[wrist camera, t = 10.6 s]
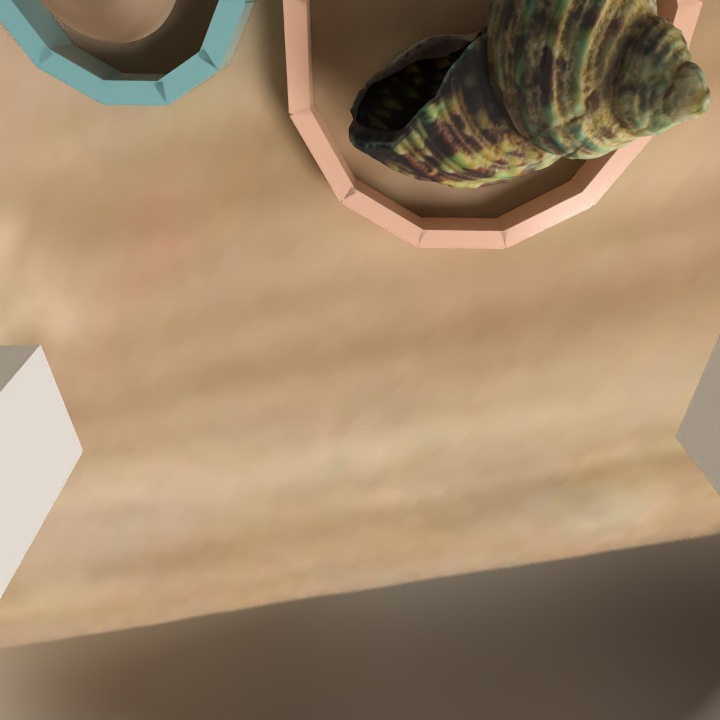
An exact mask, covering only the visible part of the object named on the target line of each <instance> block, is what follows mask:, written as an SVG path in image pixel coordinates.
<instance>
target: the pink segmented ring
mask: <svg viewBox="0 0 720 720" xmlns="http://www.w3.org/2000/svg"><path fill="white" fill-rule="evenodd" d="M656 3H657V16H659V17H662V18H668V19H669V20H670V22H671V23H672V24H673V25H674V26H675V27H676V28H678V29H679V30H681V31H682V33H683V36H684V38H685V40H686V42H687V45H688V48H689V45H690V42H691V39H692V35H693V32H694V29H695V26H696V22H697V19H698V16H699V13H700V10H701V6H702V3H703V1H699V0H656ZM283 12H284V31H285V49H286V67H287V86H288V104H289V114H291V115H290V117H291V119H292V121H293V123H294V124H295V126H296V128H297V129H298V131H299V133H300V134H301V136H302V138H303V140H304V141H305V143H306V145H307V146H308V148H309V150H310V152H311V153H312V155H313V157H314V158H315V160H316V162H317V164H318V165H319V167H320V169H321V170H322V172H323V174H324V176H325V177H326V179H327V181H328V182H329V184H330V186H331V188H332V189H333V191H334V193H335V194H336V196H337V198H338V200H339V201H342V204H343V205H345V206H347V207H349V208H350V209H352V210H354V211H355V212H357V213H359V214H361V215H362V216H364V217H366V218H367V219H369V220H371V221H373V222H374V223H376V224H378V225H379V226H381V227H383V228H385V229H386V230H388V231H390V232H391V233H393V234H395V235H397V236H398V237H400V238H402V239H403V240H405V241H407V242H409V243H410V244H412V245H414V246H415V247H417V246H418V248H485V249H505V246H506V248H508V247H510V246H512V245H514V244H516V243H518V242H521V241H523V240H525V239H527V238H529V237H531V236H533V235H535V234H537V233H539V232H541V231H543V230H545V229H547V228H549V227H551V226H553V225H556V224H558V223H560V222H562V221H564V220H566V219H568V218H570V217H572V216H574V215H576V214H578V213H580V212H582V211H584V210H586V209H588V208H591V207H592V205H591V204H593V205H595V203H596V202H597V201H598V200H599V199H600V198H601V196H602V195H603V194H604V193H605V192H606V191H607V189H608V188H609V187H610V186H611V185H612V184H613V182H614V181H615V180H616V179H617V178H618V176H619V175H620V174H621V173H622V172H623V171H624V169H625V168H626V167H627V166H628V165H629V164H630V162H631V161H632V160H633V159H634V158H635V157H636V155H637V154H638V153H639V152H640V151H641V149H642V148H643V147H644V146H645V145H646V144H647V142H648V141H649V140H650V139H651V138H652V137H653V135H651V136H645V137H639V138H637V139H635V140H634V141H633V142H631V143H630V144H629V145H627V146H624V147H622V148H619V149H617V150H614V151H611V152H609V153H607V154H605V155H603V156H601V157H598V158H592V159H587V160H586V161H585V163H584V164H583V165H582V166H581V168H580V169H579V170H578V171H577V173H576V174H575V175H574V176H573V178H572V179H571V180H570V181H568V182H566V183H564V184H562V185H560V186H558V187H556V188H555V189H553V190H551V191H549V192H547V193H545V194H543V195H541V196H539V197H537V198H535V199H533V200H531V201H529V202H527V203H525V204H523V205H521V206H519V207H517V208H515V209H513V210H511V211H509V212H507V213H505V214H503V215H501V216H499V217H497V218H451V217H419V216H418V215H416V214H414V213H413V212H411V211H409V210H408V209H406V208H404V207H403V206H401V205H399V204H398V203H396V202H394V201H393V200H391V199H389V198H388V197H386V196H384V195H383V194H381V193H379V192H378V191H376V190H375V189H373V188H371V187H370V186H368V185H366V184H365V183H363V182H361V181H360V180H358V179H356V178H355V177H354V175H353V173H352V172H351V170H350V168H349V166H348V164H347V163H346V161H345V159H344V157H343V155H342V154H341V152H340V150H339V148H338V146H337V145H336V143H335V141H334V139H333V137H332V136H331V134H330V132H329V130H328V128H327V127H326V125H325V123H324V121H323V119H322V118H321V116H320V114H319V112H318V110H317V108H316V107H315V105H314V103H313V90H312V58H311V26H310V0H283Z"/></svg>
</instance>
